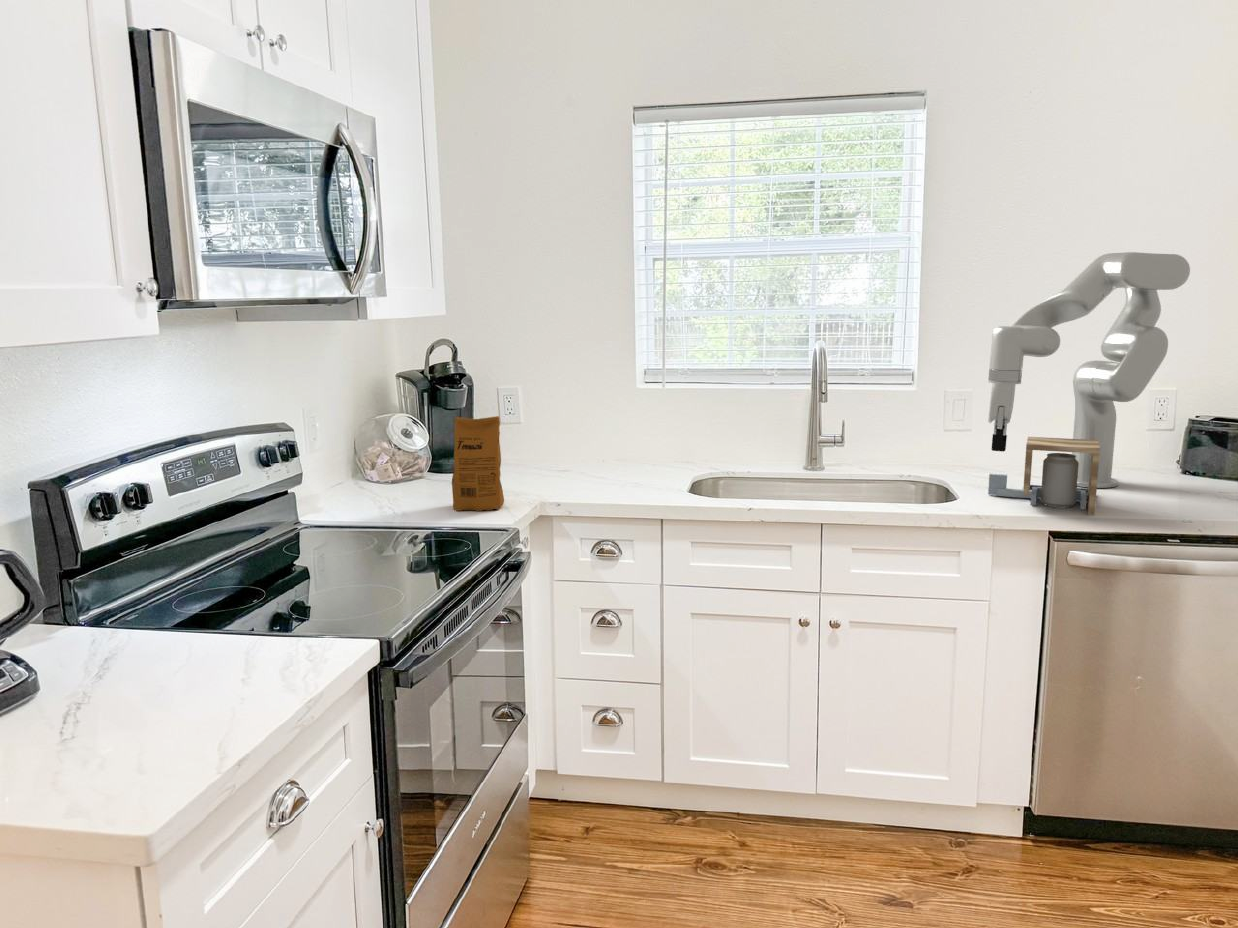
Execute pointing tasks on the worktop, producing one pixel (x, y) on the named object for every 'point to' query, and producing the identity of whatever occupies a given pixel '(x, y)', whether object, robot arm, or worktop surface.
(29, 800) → the worktop surface
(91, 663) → the worktop surface
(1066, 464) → the can
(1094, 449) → the tunnel
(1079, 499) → the blue-grey forked pusher
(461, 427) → the coffee package
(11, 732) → the worktop surface
